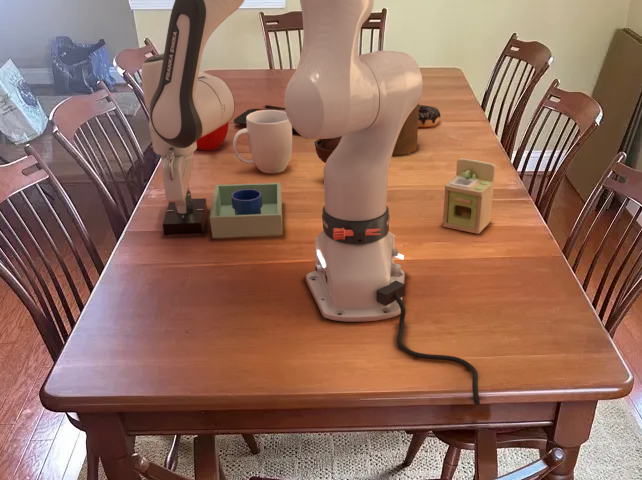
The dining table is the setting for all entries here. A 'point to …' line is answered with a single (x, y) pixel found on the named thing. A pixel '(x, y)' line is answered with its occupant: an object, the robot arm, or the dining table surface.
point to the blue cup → (247, 202)
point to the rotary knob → (187, 203)
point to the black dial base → (185, 219)
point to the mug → (267, 140)
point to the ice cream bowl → (326, 147)
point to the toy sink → (469, 196)
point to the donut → (428, 116)
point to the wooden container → (408, 134)
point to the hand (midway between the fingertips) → (184, 205)
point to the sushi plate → (242, 118)
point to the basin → (246, 225)
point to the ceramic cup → (213, 139)
